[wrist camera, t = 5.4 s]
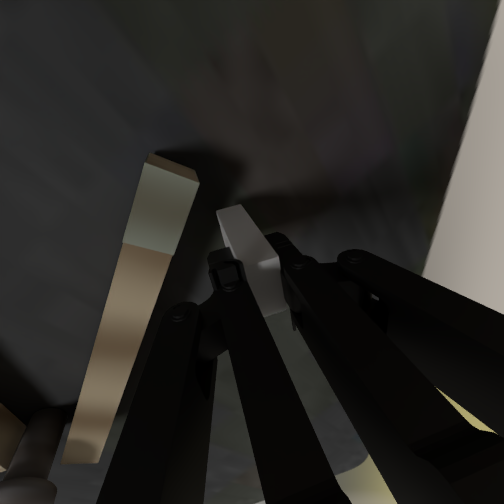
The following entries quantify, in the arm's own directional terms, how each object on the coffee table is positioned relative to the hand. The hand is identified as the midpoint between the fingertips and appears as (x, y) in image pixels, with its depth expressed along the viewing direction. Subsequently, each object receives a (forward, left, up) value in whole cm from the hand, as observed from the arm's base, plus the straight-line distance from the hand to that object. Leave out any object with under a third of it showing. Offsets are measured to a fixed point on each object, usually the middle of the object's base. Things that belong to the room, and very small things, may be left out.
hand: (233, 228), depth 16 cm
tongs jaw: (+5, -9, -1) cm, 10 cm away
